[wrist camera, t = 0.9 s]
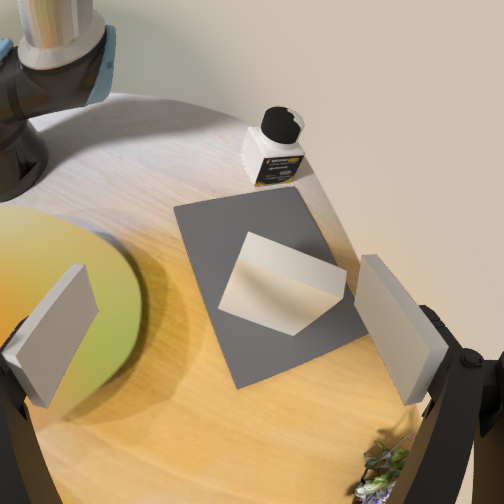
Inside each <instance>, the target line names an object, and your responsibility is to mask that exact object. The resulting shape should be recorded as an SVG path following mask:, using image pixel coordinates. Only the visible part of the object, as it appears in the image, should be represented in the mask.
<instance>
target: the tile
mask: <svg viewBox="0 0 504 504" xmlns="http://www.w3.org/2000/svg"><path fill="white" fill-rule="evenodd" d="M346 276H347V270H344V269H342V268H339V267H337V266H334V265H332V264H329V263H327V262H324V261H322V260H319V259H317V258H314V257H312V256H309V255H307V254H304V253H302V252H299V251H297V250H294V249H292V248H289V247H287V246H284V245H282V244H279V243H277V242H274V241H272V240H269V239H266V238H264V237H261V236H259V235H256V234H254V233H251V232H249V231H248V233H247V236H246V238H245V241H244V243H243V246H242V248H241V251H240V253H239V256H238V258H237V261H236V263H235V266H234V268H233V271H232V273H231V276H230V278H229V281H228V283H227V286H226V288H225V291H224V293H223V296H222V299H221V301H220V304H219V307H218V309H220V310H222V311H225V312H228V313H230V314H233V315H236V316H238V317H241V318H244V319H246V320H249V321H252V322H255V323H257V324H260V325H263V326H266V327H269V328H271V329H274V330H277V331H280V332H283V333H286V334H289V335H292V336H294V335H296V334H297V333H298V332H300V331H301V330H303V329H304V328H305V327H307V326H308V325H309V324H311V323H312V322H313V321H315V320H316V319H317V318H318V317H320V316H321V315H322V314H324V313H325V312H326V311H328V310H329V309H330V308H331V307H333V306H334V305H335V304H337V303H338V302H339V301H340V300H342V299H343V295H344V289H345V283H346Z"/></svg>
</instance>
